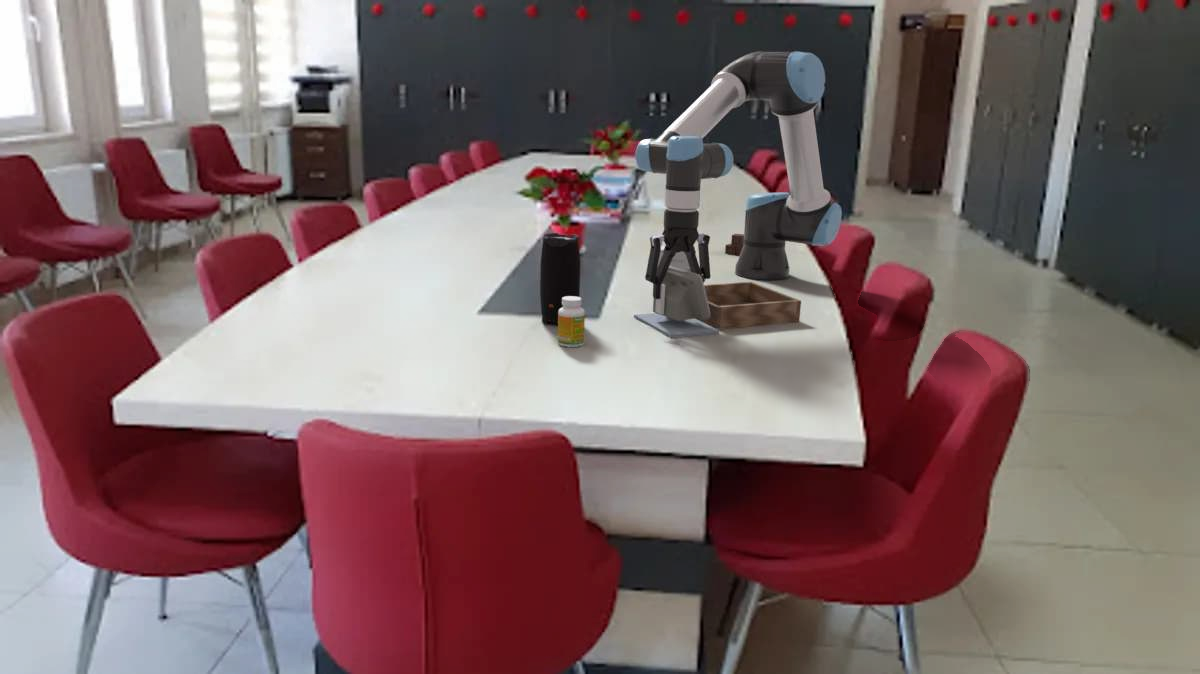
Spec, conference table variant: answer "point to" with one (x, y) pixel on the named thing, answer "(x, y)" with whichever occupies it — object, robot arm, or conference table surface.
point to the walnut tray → (749, 306)
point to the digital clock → (684, 296)
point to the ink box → (677, 260)
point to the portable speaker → (558, 273)
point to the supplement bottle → (571, 322)
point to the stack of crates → (735, 245)
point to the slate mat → (676, 325)
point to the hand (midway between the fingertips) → (676, 311)
